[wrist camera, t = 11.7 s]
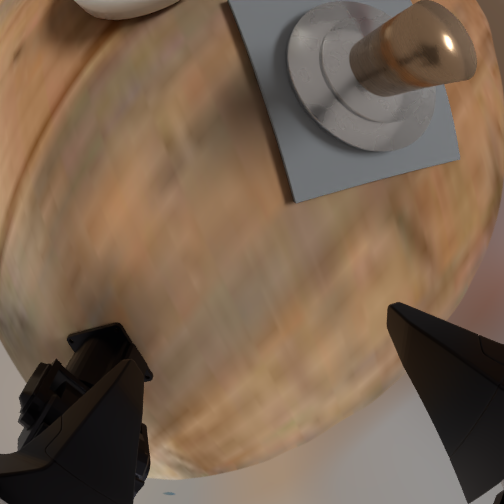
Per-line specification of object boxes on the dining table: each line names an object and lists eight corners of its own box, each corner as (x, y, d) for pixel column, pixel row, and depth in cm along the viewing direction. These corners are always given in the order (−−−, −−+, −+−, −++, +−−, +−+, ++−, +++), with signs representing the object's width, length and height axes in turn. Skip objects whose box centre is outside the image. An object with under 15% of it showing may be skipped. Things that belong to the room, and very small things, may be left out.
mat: (294, 201, 19) (296, 203, 19) (227, 1, 14) (227, -3, 13) (455, 158, 19) (460, 159, 18) (404, -3, 14) (407, -5, 13)
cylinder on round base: (274, 130, 17) (319, 110, 8) (294, -11, 13) (332, -83, 5) (421, 168, 18) (508, 186, 10) (428, 41, 15) (501, 16, 6)
